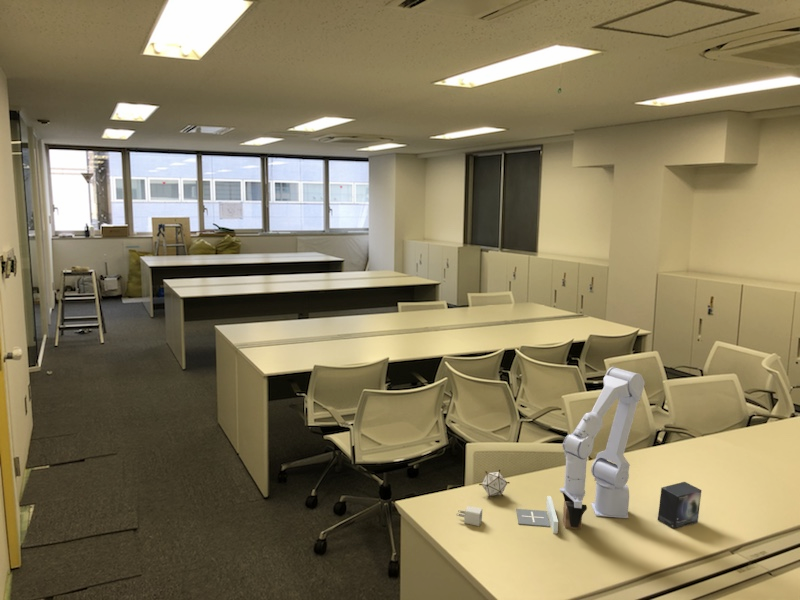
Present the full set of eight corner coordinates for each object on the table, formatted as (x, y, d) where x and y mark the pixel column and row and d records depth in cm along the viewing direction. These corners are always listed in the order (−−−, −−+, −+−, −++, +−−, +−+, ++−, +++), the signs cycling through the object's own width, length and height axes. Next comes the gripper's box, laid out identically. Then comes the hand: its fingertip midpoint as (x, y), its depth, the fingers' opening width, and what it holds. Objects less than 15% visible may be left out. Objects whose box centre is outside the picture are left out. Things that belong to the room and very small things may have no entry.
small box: (675, 530, 179) (678, 496, 177) (656, 520, 184) (659, 487, 183) (699, 522, 184) (702, 489, 182) (680, 513, 189) (683, 480, 188)
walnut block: (578, 521, 183) (579, 502, 182) (580, 529, 178) (582, 509, 177) (562, 520, 183) (564, 501, 182) (565, 527, 179) (566, 508, 178)
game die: (498, 508, 197) (508, 493, 190) (473, 496, 198) (482, 481, 191) (504, 485, 203) (515, 470, 196) (481, 474, 204) (490, 458, 197)
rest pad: (546, 511, 188) (546, 510, 188) (550, 526, 179) (550, 525, 179) (516, 509, 189) (516, 508, 189) (518, 524, 180) (518, 523, 180)
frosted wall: (550, 506, 191) (550, 496, 190) (557, 533, 175) (558, 522, 175) (546, 506, 191) (547, 495, 191) (553, 533, 175) (553, 521, 175)
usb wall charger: (478, 527, 178) (479, 514, 177) (455, 522, 180) (456, 509, 179) (481, 520, 181) (482, 507, 181) (459, 516, 184) (459, 503, 183)
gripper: (557, 464, 186) (554, 506, 188) (564, 485, 172) (561, 531, 174) (581, 466, 185) (578, 508, 187) (590, 487, 171) (587, 533, 173)
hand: (572, 519), depth 180 cm, fingers open, 7 cm apart
